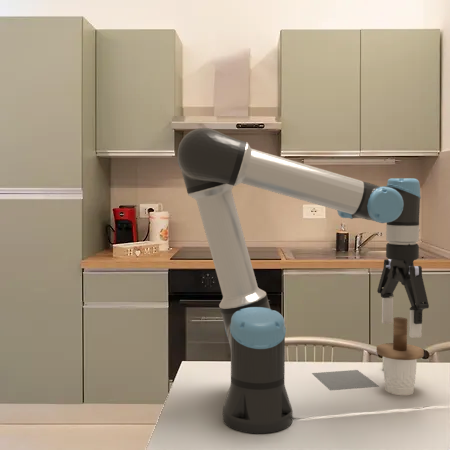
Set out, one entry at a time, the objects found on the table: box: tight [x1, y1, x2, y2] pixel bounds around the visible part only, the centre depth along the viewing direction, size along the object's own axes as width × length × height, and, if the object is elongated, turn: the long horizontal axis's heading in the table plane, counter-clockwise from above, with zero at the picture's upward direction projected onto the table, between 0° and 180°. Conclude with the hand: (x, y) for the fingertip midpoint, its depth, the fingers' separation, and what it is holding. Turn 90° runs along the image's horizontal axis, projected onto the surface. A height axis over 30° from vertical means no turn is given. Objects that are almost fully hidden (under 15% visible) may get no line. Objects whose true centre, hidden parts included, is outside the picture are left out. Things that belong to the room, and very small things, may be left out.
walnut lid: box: [376, 316, 425, 360], centre depth 142 cm, size 11×11×8 cm
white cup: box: [382, 356, 418, 396], centre depth 143 cm, size 8×8×10 cm
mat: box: [311, 369, 380, 391], centre depth 151 cm, size 13×13×1 cm
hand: (400, 329), depth 142 cm, fingers open, 13 cm apart
